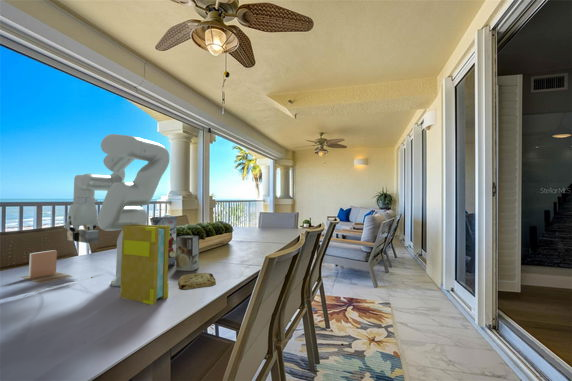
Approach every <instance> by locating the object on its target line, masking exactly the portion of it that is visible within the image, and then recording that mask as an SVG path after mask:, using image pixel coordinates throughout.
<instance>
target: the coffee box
mask: <svg viewBox="0 0 572 381" xmlns="http://www.w3.org/2000/svg"><path fill="white" fill-rule="evenodd" d="M199 262H200V236H199V235H181V236H176V254H175V270H176V271H183V272H184V271H187V272H188V271H189V272H193V271H195V270H197V269H199V268H200V264H199Z"/></svg>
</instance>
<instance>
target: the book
mask: <svg viewBox="0 0 572 381" xmlns="http://www.w3.org/2000/svg"><path fill="white" fill-rule="evenodd" d="M169 239H170V226H163V225H161V226H159V225H152V224H146V225H140V224H134V225H123V234H122V263H121V287H120V295H119V296H120V298H121V299H124V300H130V301H136V302H140V303H143V304H146V305H150V306H151V305H152V306H153V305H155V304H156V303H158V299H162V300H165V299H167V298H169V285H170V284H169V282H168V281H169V267H168V246H169Z"/></svg>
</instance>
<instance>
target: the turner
mask: <svg viewBox="0 0 572 381" xmlns="http://www.w3.org/2000/svg"><path fill="white" fill-rule="evenodd" d="M99 232H100V231H99V230H95V229H94V230H87V228H86V229H85V228H79V229H78V233H79V241H78V243H84V244H91V243H99ZM66 236H67V237H66V240H67V241H71V242H75V241H74V240H73V233H72V232H71V231H70V230H69V229H67V233H66Z"/></svg>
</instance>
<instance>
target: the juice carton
mask: <svg viewBox="0 0 572 381" xmlns="http://www.w3.org/2000/svg"><path fill="white" fill-rule="evenodd" d="M177 218H178V217H177V216H174V215H172V214H170V213H164V216H152V217H151V225H159V226H161V225H163V226H170V239H169V246H168V268H169V267H172V266H176V241H177Z"/></svg>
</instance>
